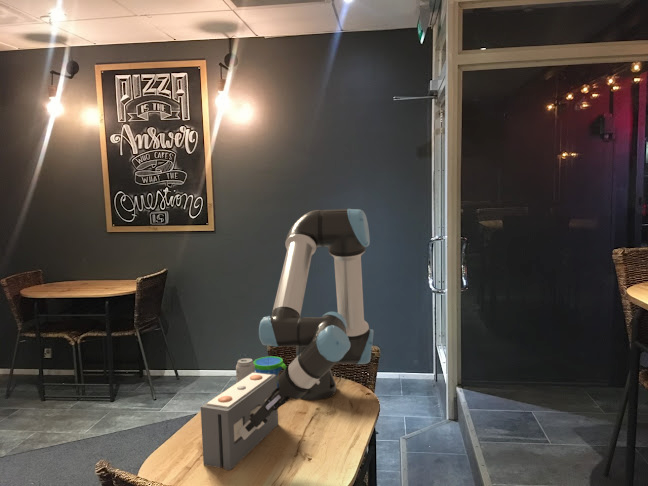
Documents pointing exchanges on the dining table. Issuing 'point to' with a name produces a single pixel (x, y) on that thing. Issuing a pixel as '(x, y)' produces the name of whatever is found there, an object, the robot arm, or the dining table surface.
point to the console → (221, 427)
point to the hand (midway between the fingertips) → (242, 434)
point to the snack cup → (270, 366)
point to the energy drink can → (244, 368)
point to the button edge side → (237, 429)
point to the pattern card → (239, 390)
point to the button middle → (255, 412)
